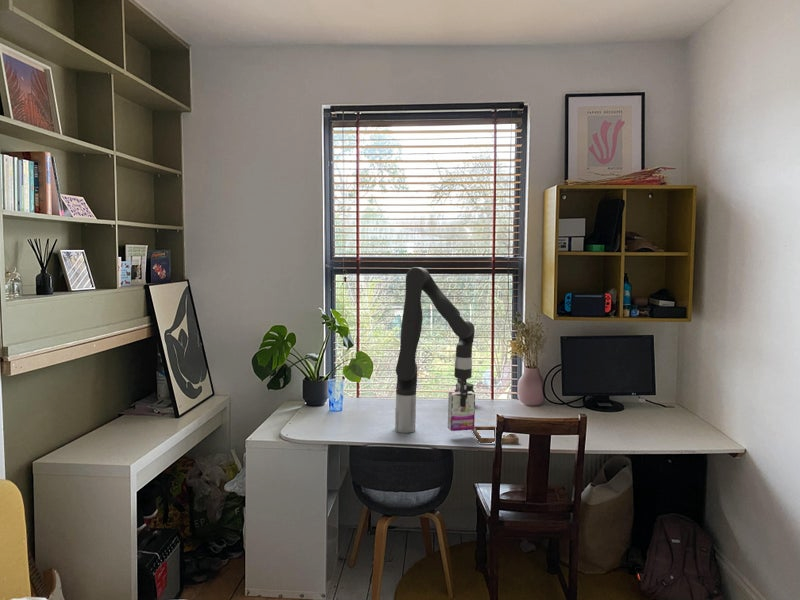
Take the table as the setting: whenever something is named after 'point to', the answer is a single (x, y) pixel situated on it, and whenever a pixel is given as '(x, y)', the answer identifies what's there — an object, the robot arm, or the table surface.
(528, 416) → the table surface
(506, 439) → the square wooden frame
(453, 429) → the candy bar box
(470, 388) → the supplement container
